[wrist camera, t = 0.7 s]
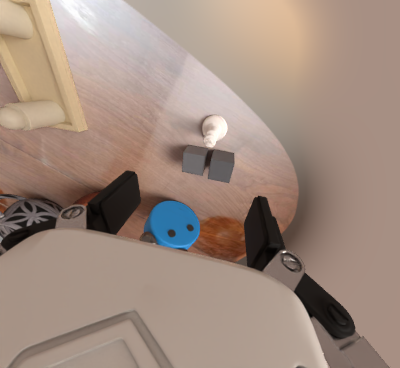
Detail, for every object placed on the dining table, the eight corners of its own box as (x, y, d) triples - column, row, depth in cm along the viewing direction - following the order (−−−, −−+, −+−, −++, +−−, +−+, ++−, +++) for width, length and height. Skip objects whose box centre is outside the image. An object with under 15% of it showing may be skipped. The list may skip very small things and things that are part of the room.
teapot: (64, 240, 67) (27, 274, 55) (6, 183, 52) (-65, 213, 39) (98, 241, 63) (65, 279, 50) (44, 178, 47) (-22, 211, 35)
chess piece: (217, 145, 32) (213, 166, 23) (197, 132, 31) (185, 149, 23) (232, 124, 29) (232, 140, 21) (210, 109, 28) (202, 119, 20)
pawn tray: (-17, -8, 24) (-158, -61, 16) (49, -1, 24) (-61, -52, 15) (41, 121, 36) (-21, 133, 27) (88, 129, 35) (39, 144, 26)
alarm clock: (156, 205, 45) (128, 251, 32) (163, 191, 41) (134, 236, 29) (194, 224, 46) (181, 275, 34) (204, 213, 43) (193, 264, 31)
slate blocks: (188, 144, 33) (182, 153, 28) (234, 153, 32) (234, 163, 28) (187, 162, 35) (180, 173, 31) (229, 170, 34) (229, 183, 30)
